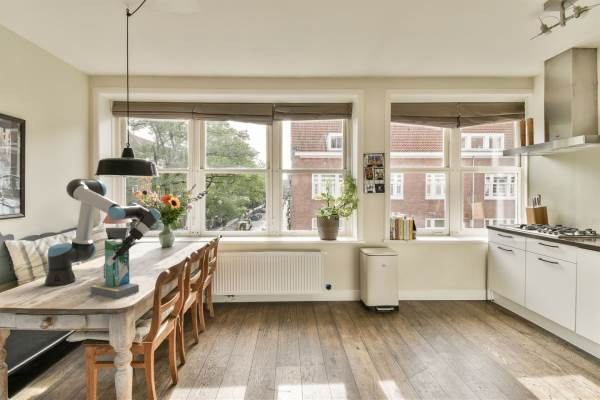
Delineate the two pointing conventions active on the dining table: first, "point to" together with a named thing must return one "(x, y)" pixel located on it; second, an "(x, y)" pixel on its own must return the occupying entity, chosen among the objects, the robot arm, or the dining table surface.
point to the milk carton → (116, 264)
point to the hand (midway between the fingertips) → (107, 264)
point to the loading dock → (114, 290)
